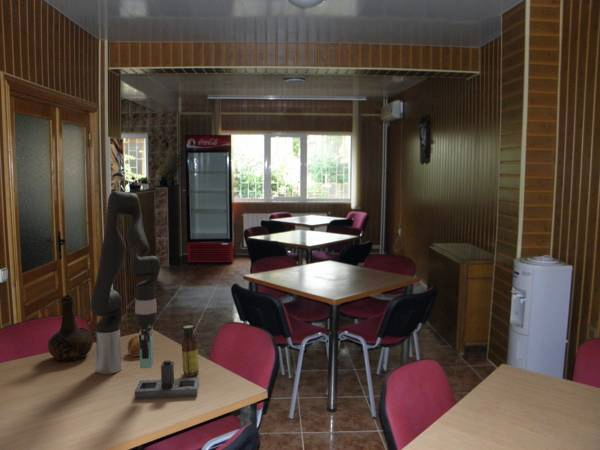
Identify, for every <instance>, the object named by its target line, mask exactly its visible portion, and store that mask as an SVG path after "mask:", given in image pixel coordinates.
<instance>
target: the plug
mask: <svg viewBox="0 0 600 450" xmlns="http://www.w3.org/2000/svg"><path fill="white" fill-rule="evenodd" d="M153 335H154V334H152V336H150V342H149V348H148V351H149V357H148V359H142V349H140V355H139V369H152V367H153V366H154V336H153ZM147 340H148V339H147ZM143 345H145V344H143Z"/></svg>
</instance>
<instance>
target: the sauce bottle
mask: <svg viewBox="0 0 600 450" xmlns="http://www.w3.org/2000/svg"><path fill="white" fill-rule="evenodd" d="M182 329H183V340H182V342H181V356H182V357H181V358H182V372H183V375H184V376H185V377H195V376H197V375H198V374H199V369H200V366H199V350H198V343H197V341H196V339H195V335H194V325H192V324H191V325H190V324H189V325H184V326H183V328H182Z"/></svg>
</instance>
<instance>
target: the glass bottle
mask: <svg viewBox="0 0 600 450" xmlns="http://www.w3.org/2000/svg"><path fill="white" fill-rule="evenodd" d="M73 297H74V296H73V295H71V294H66V295H63V296H61V299H60V301H59V303H61V323H60V329H59V331H57V332H55V333H54V334H53V335H52V336H50V338H49V339H48V343H47V349H48V352H49V353H50V355H51V356H52V357H53V358H54V359H56V360H58V361H61V362H69V361H70V362H71V361H77V360H80V359H82V358H84V357H86V355H88V353H89V352H90V351H91V349H92V348H93V345H94V343H93V342H94V341H93V340H94V339H93V337H92V335H91V333H90V332H89V330H87V329H86V328H83V327H79V326H78V323H77V321H76V316H75V309H74V308H75V307H74V301H75V298H73Z"/></svg>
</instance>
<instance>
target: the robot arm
mask: <svg viewBox="0 0 600 450" xmlns="http://www.w3.org/2000/svg"><path fill="white" fill-rule="evenodd" d="M141 208H142V207H141V203H140V198H139V196H138V195H137V194H136V193H133V192H129V191H118V190H114V191H111V192H110V194H109V195H108V199H107V206H106V217H105V218H106V219H105V226H104V228H105V230H104V234H103V241H102V245H101V251H100V256H99V265H98V269H97V275H96V279H95V280H96V281H95V284H94V287H93V291H92V294H91V298H90V299H91V300H90V309H91V312H92V313H93V314H94V315H95V316H97V317H101V318H100V320H99V321H97V323H96V325H95V337H96V340H95V341H96V348H95V349H94V366H95V368H94V369H95V372H96V373H97V374H99V375H113V374H115V373H117V372H118V373H119V372H120V371H121V370H122V352H121V351H122V350H121V323H122V318H123V316H122V314H123V312H122V311H123V303H122V297H121V295H120V293H119V292H118V291H116V290H114V289H112V286H113V284H114V282H115V280H116V279H117V276H118V275H119V273H120V271H122V268H123V266H124V264H125V260H126V255H127V254H126V253H127V247H128V250H129V256H130V261H129V271H130V273H131V274H132V276H134V277H139V278H140V277H147V278H146V279H145V280H143V281H140V282H137V283H136V285H135V303H134V316H135V317H134V319H135V321H134V323H135V325H136V326H139V327H140V329H139V334H138V335H139V341H140V349H142V359H148V357H149V351H148V348H149V342H150V336H152V335H153V333H154V332H153V329H154V325H155V324H157V320H158V318H157V317H158V316H157V315H158V312H157V300H156V299H157V297H156V294H157V293H156V291H157V283H158V278H159V275H160V270H161V261H160V259H159V258H158V256H157V255H148V254H149V252H150V251H151V250H150V245H149V242H148V239H147V236H146V233H145V229H144V222H143V215H142V209H141ZM118 216H128V217H129V216H130V218H131V222H130V226H129V227H128V229H127V232H126V237H125V238H126V239H124V238H123V236H122V234H121V232H120V229H119V225H118V218H119V217H118ZM125 240H126V242H125ZM126 243H127V245H126ZM147 339H148V340H147ZM143 344H145V345H143Z"/></svg>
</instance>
